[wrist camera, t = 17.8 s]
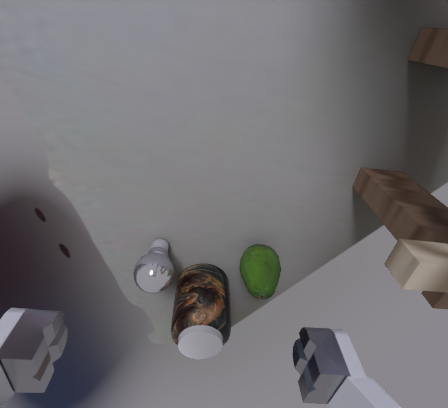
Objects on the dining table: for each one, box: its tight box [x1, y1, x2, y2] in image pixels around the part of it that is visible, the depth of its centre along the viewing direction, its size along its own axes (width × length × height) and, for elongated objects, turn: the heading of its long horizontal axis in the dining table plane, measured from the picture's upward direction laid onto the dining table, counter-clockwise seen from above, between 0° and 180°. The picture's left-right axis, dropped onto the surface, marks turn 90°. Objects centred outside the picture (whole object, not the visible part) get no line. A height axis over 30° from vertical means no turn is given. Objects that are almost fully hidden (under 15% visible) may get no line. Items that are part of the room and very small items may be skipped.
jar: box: [171, 264, 231, 359], centre depth 58 cm, size 12×12×15 cm
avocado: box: [240, 245, 281, 299], centre depth 55 cm, size 8×8×12 cm
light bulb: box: [133, 239, 174, 293], centre depth 53 cm, size 7×7×12 cm
